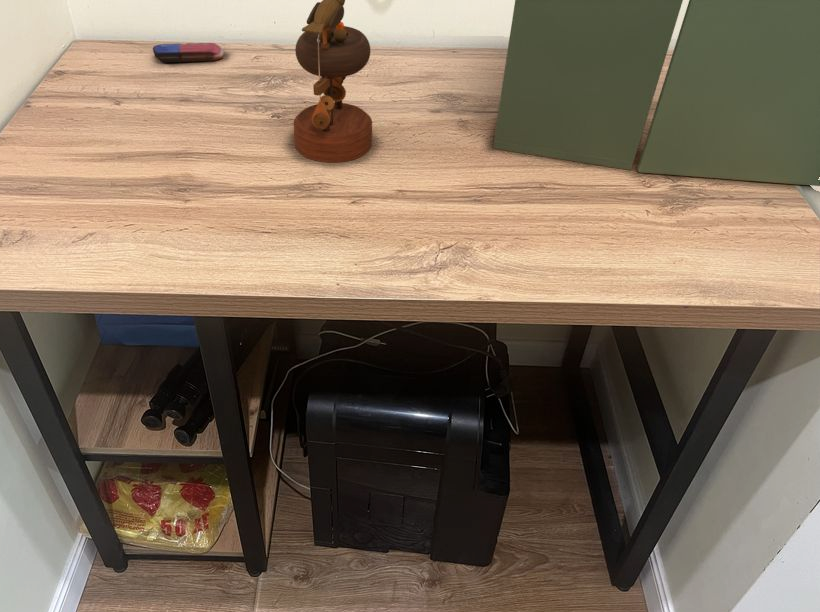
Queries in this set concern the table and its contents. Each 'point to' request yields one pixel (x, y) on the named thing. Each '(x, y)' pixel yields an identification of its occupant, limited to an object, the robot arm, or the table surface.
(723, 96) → the door
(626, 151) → the cupboard
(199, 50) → the eraser
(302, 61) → the music box
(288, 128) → the table surface
